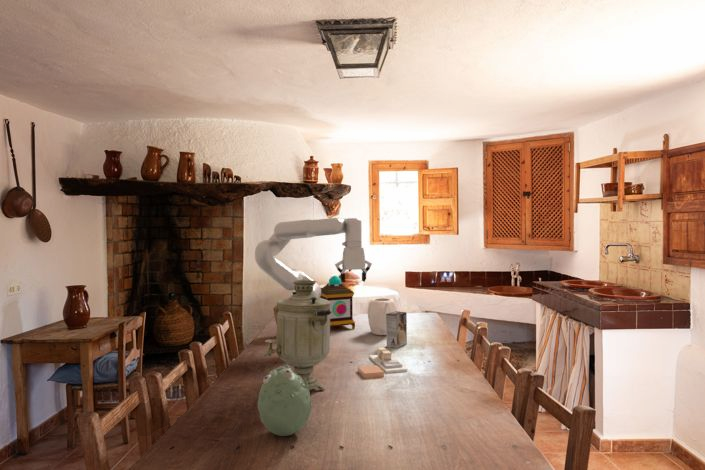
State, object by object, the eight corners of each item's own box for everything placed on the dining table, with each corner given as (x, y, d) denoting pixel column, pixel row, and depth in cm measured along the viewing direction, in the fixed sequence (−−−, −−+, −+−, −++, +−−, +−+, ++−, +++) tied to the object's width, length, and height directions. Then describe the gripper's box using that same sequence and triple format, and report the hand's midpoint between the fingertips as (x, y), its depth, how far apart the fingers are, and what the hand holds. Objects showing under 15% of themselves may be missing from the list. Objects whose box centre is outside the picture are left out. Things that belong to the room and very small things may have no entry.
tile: (357, 372, 215) (364, 379, 205) (357, 366, 214) (364, 373, 205) (376, 370, 217) (384, 377, 207) (376, 365, 216) (384, 371, 207)
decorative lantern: (312, 326, 303) (312, 274, 302) (343, 322, 311) (343, 272, 310) (325, 332, 285) (325, 278, 284) (358, 329, 293) (358, 276, 292)
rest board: (386, 373, 211) (386, 370, 211) (369, 357, 235) (369, 355, 235) (407, 371, 214) (407, 368, 214) (388, 356, 237) (388, 354, 237)
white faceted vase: (372, 340, 267) (372, 303, 267) (365, 329, 294) (364, 295, 293) (402, 339, 269) (401, 303, 268) (392, 328, 296) (392, 295, 295)
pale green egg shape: (316, 422, 162) (316, 358, 161) (305, 449, 143) (305, 376, 142) (266, 420, 163) (266, 357, 162) (249, 447, 144) (249, 375, 143)
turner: (373, 357, 232) (373, 348, 232) (388, 355, 234) (388, 347, 234) (386, 368, 215) (386, 358, 214) (402, 367, 216) (402, 357, 216)
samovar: (253, 382, 200) (252, 278, 199) (318, 374, 209) (317, 275, 208) (268, 409, 172) (267, 288, 171) (343, 399, 182) (343, 284, 180)
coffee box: (396, 342, 263) (396, 310, 262) (407, 344, 259) (407, 312, 258) (386, 346, 255) (386, 313, 255) (397, 348, 251) (397, 315, 251)
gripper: (337, 245, 235) (337, 283, 236) (373, 244, 240) (373, 281, 241) (333, 244, 243) (333, 281, 243) (368, 244, 247) (369, 280, 248)
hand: (353, 281), depth 242 cm, fingers open, 9 cm apart
